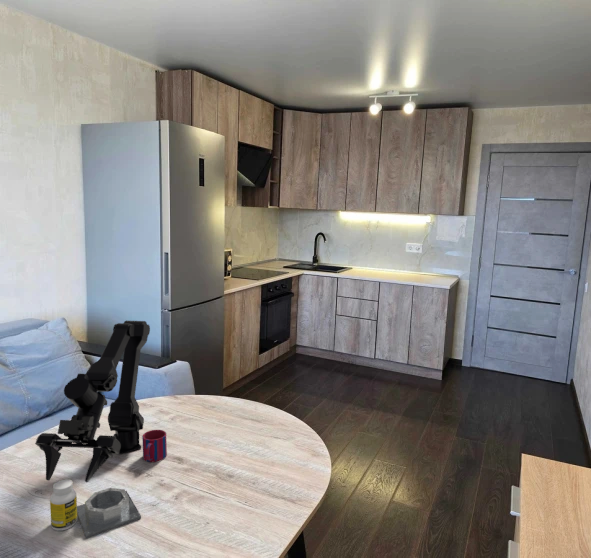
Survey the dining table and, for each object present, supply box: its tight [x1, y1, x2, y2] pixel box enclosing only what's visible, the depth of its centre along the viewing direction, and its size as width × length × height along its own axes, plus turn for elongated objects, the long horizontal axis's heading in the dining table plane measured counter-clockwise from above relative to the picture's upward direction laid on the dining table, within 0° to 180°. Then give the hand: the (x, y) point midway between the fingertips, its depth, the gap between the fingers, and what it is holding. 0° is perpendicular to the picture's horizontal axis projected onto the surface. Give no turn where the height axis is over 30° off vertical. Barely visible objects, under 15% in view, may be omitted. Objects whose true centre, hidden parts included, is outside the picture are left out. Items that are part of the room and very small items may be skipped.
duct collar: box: [77, 487, 142, 539], centre depth 110 cm, size 12×12×4 cm
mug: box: [141, 429, 168, 463], centre depth 135 cm, size 7×10×7 cm
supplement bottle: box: [49, 478, 78, 531], centre depth 106 cm, size 5×5×10 cm
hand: (66, 481), depth 107 cm, fingers open, 9 cm apart
